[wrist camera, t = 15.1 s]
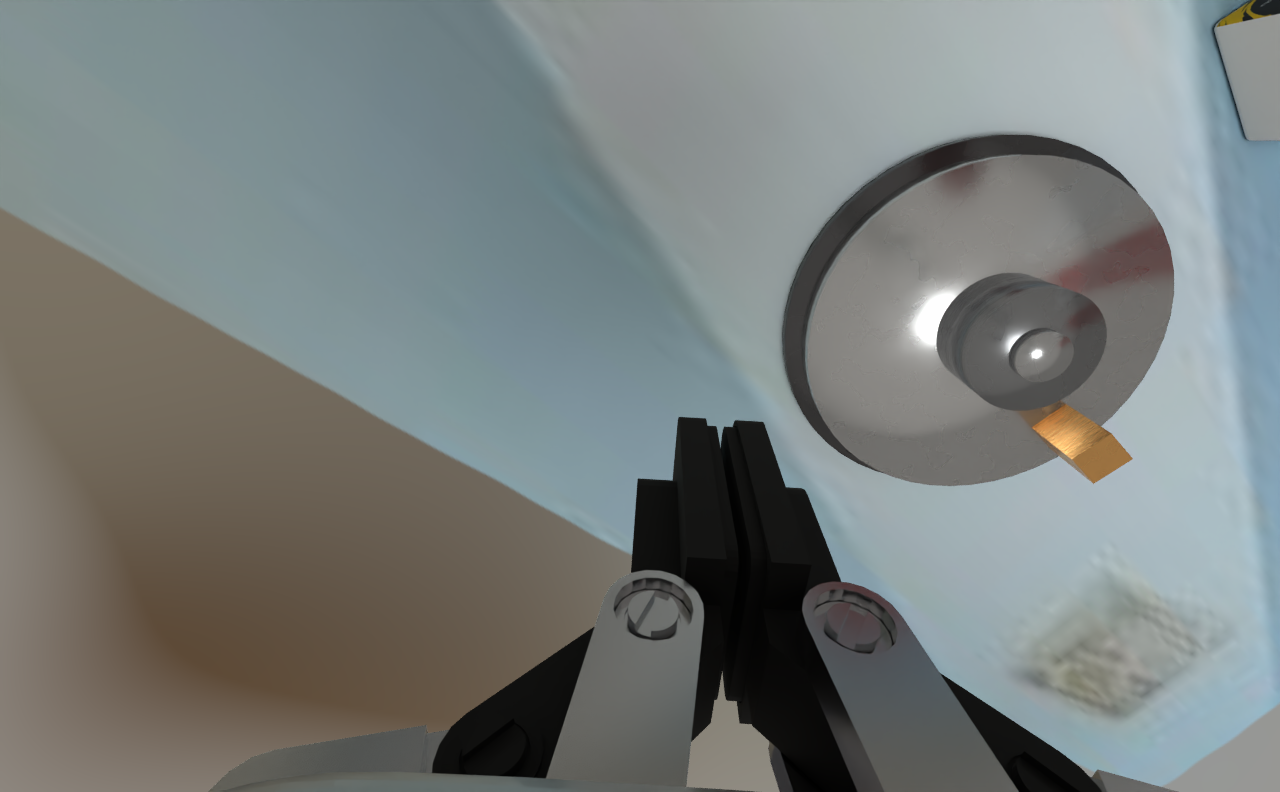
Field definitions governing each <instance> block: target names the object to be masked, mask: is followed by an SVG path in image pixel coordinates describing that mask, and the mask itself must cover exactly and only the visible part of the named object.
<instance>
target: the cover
mask: <svg viewBox="0 0 1280 792" xmlns="http://www.w3.org/2000/svg"><path fill="white" fill-rule="evenodd" d="M1106 339H1107V328H1106V323H1105V320H1104V317H1103V314H1102V313H1101V311H1100V309H1099V308H1098V307H1097V306H1096V304H1095V303H1094V302H1093V301H1091V300H1090V299H1089V298H1087V297H1086V296H1084V295H1082V294H1080V293H1077V292H1075V291H1072V290H1069V289H1066V288H1064V287H1061V286H1058V285H1055V284H1052V283H1050V282H1047V281H1044V280H1041V279H1039V278H1036V277H1033V276H1030V275H1027V274H1022V273H1012V272H1011V273H1001V274H996V275H992V276H989V277H986V278H984V279H981V280H979V281H977V282H975V283H974V284H972V285H970V286H969V287H967V288H966V289H965V290H963V291H962V292H961V293H960V294H959V295H958V296H957V297H956V298H955V299H954V300H953V301H952V302H951V303H950V305H949V306H948V308H947V309H946V311H945V312H944V314H943V316H942V318H941V320H940V323H939V326H938V330H937V336H936V346H937V352H938V355H939V358H940V360H941V362H942V363H943V365H944V366H945V367H946V369H947V370H948V371H949V372H951V373H952V374H953V375H954V376H955V377H957V378H958V379H959V380H960V381H962V382H963V383H964V384H965V385H966V386H968V387H969V388H970V389H971V390H973V391H974V392H975V393H976V394H977V395H979V396H980V397H981V398H982V399H984V400H985V401H987V402H988V403H990V404H992V405H994V406H996V407H999V408H1002V409H1006V410H1013V411H1026V410H1033V409H1038V408H1042V407H1046V406H1048V405H1051V404H1053V403H1056V402H1058V401H1060V400H1062V399H1063V398H1065V397H1067V396H1068V395H1070V394H1071V393H1073V392H1074V391H1075V390H1077V389H1078V388H1079V387H1080V386H1081V385H1082V384H1083V383H1084V382H1085V381H1086V380H1087V379H1088V378H1089V377H1090V376H1091V374H1092V373H1093V372H1094V370H1095V369H1096V367H1097V365H1098V364H1099V362H1100V360H1101V358H1102V355H1103V353H1104V349H1105V346H1106Z"/></svg>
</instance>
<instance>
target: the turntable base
mask: <svg viewBox="0 0 1280 792" xmlns="http://www.w3.org/2000/svg"><path fill="white" fill-rule="evenodd" d="M1002 154H1014V155H1051V156H1057V157H1063V158H1068V159H1074V160H1078V161H1081V162H1084V163H1087V164H1090V165H1093V166H1096V167H1099V168H1101V169H1103V170H1104V171H1106V172H1108V173H1110V174H1112V175H1114V176H1115V177H1117V178H1119V179H1121V180H1122V181H1123V182H1124V183H1126V184H1127V185H1128V186H1129V187H1131V188H1132V189H1133V190H1134V191H1136V189H1135V188H1134V187H1133V186H1132V185H1131V184H1130V183H1129V182H1128V181H1127V179H1126V178H1125V177H1124V176H1123V175H1122V174H1121V173H1120V172H1119V171H1117V170H1116V169H1115V168H1114V167H1112V166H1111V165H1110V164H1108V163H1107V162H1106V161H1104V160H1103V159H1102V158H1100V157H1098V156H1096V155H1094V154H1092V153H1090V152H1088V151H1086V150H1085V149H1083V148H1081V147H1078V146H1075V145H1072V144H1069V143H1066V142H1062V141H1059V140H1056V139H1051V138H1044V137H1037V136H1031V135H991V136H984V137H976V138H968V139H963V140H959V141H956V142H952V143H948V144H944V145H940V146H937V147H935V148H932V149H930V150H927V151H925V152H922V153H920V154H917V155H915V156H912V157H910V158H909V159H907V160H905V161H903V162H901V163H899V164H898V165H896V166H894V167H892V168H890V169H888V170H887V171H885V172H884V173H882V174H881V175H880V176H878V177H877V178H875V179H874V180H872V181H871V182H870V183H868V184H867V185H865V186H864V187H863V188H862V189H861V190H860V191H858V192H857V193H856V194H855V195H854V196H853V197H852V198H851V199H849V200H848V201H847V202H846V203H845V204H844V205H843V206H842V207H841V208H840V209H839V210H838V212H837V213H836V214H835V215H834V216H833V217H832V218H831V219H830V220H829V222H828V223H827V224H826V225H825V227H824V228H823V229H822V231H821V232H820V234H819V235H818V236H817V238H816V239H815V241H814V242H813V243H812V245H811V247H810V248H809V250H808V252H807V254H806V256H805V258H804V259H803V261H802V263H801V265H800V267H799V269H798V272H797V274H796V277H795V279H794V282H793V284H792V287H791V290H790V294H789V297H788V301H787V305H786V309H785V315H784V324H783V332H782V334H783V357H784V363H785V369H786V374H787V377H788V380H789V383H790V386H791V389H792V392H793V394H794V396H795V398H796V400H797V402H798V404H799V406H800V408H801V410H802V412H803V414H804V415H805V417H806V418H807V420H808V421H809V423H810V424H811V425H812V427H813V428H814V430H815V431H816V432H817V433H818V434H819V435H820V436H821V437H822V438H823V439H824V440H825V441H826V442H827V443H828V444H829V445H831V446H832V447H833V448H835V449H836V450H837V451H838V452H840V453H841V454H842V455H844V456H846V457H848V458H849V459H851V460H853V461H855V462H856V463H858V464H860V465H863V466H865V467H868V468H870V469H873V470H875V471H878V470H876V469H874V468H872V467H871V466H869V465H867V464H866V463H864V462H863V461H861V460H859V459H858V458H857V457H856V456H854V455H853V454H852V453H851V452H849V451H848V450H847V449H846V448H845V447H844V446H843V445H842V444H841V443H840V442H839V441H838V439H837V438H836V437H835V436H834V435H833V434H832V432H831V431H830V429H829V428H828V426H827V425H826V423H825V422H824V420H823V418H822V416H821V415H820V413H819V411H818V409H817V407H816V405H815V403H814V401H813V399H812V397H811V394H810V392H809V390H808V386H807V383H806V379H805V376H804V371H803V363H802V355H801V347H802V330H803V323H804V317H805V312H806V309H807V306H808V302H809V299H810V295H811V293H812V290H813V288H814V286H815V283H816V281H817V279H818V277H819V274H820V272H821V271H822V269H823V267H824V266H825V264H826V262H827V260H828V259H829V257H830V255H831V254H832V252H833V251H834V250H835V248H836V247H837V246H838V244H839V243H840V242H841V240H842V239H843V238H844V236H845V235H846V234H847V233H848V232H849V231H850V230H851V229H852V227H853V226H854V225H855V224H856V223H857V222H858V221H859V220H860V219H861V218H862V217H863V216H864V215H865V214H866V213H867V212H869V211H870V210H871V209H872V208H873V207H875V206H876V205H877V204H878V203H879V202H881V201H882V200H883V199H884V198H886V197H887V196H889V195H890V194H892V193H893V192H895V191H896V190H898V189H899V188H901V187H902V186H904V185H905V184H907V183H909V182H911V181H913V180H915V179H917V178H919V177H921V176H923V175H925V174H927V173H929V172H931V171H934V170H937V169H939V168H942V167H945V166H947V165H950V164H953V163H956V162H960V161H965V160H969V159H973V158H977V157H984V156H993V155H1002ZM1136 192H1137V191H1136ZM1137 193H1138V192H1137ZM878 472H881V471H878ZM882 473H883V472H882Z"/></svg>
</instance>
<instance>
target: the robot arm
mask: <svg viewBox="0 0 1280 792" xmlns="http://www.w3.org/2000/svg"><path fill="white" fill-rule="evenodd" d="M722 672H723V681H724V690H725V697H726V700H728V701H737V706H738V714H739V721H740V723H743V724H752V726H753V727H754V728H756V729H757V730H758V731H759V732H760V733H761V734H762V735H763V736H764V737H765V738H766V739H768V740H769V747H768V749H769V756H770V762H771V765H772V768H773V772H774V775H775V778H776V781H777V784H778V788H779V791H780V792H1177V791H1173V790H1169V789H1166V788H1162V787H1159V786H1155V785H1152V784H1148V783H1144V782H1141V781H1137V780H1133V779H1130V778H1126V777H1123V776H1119V775H1115V774H1112V773H1108V772H1104V771H1101V770H1097V771H1096V772H1095V774H1094V775H1093V776H1092V777H1089V776H1088V775H1087V774H1086V773H1085V772H1084V771H1083V770H1082V769H1081V768H1080V767H1079V766H1078V765H1076V764H1075V763H1074V762H1072V761H1071V760H1070V759H1069V758H1067V757H1066V756H1065V755H1063V754H1062V753H1061V752H1059V751H1058V750H1056V749H1055V748H1053V747H1052V746H1050V745H1049V744H1047V743H1046V742H1044V741H1043V740H1041V739H1040V738H1038V737H1037V736H1035V735H1033V734H1032V733H1030V732H1029V731H1027V730H1026V729H1024V728H1023V727H1021V726H1020V725H1018V724H1017V723H1015V722H1014V721H1012V720H1011V719H1009V718H1008V717H1006V716H1005V715H1003V714H1002V713H1000V712H999V711H997V710H995V709H994V708H992V707H991V706H989V705H988V704H986V703H985V702H983V701H982V700H980V699H979V698H977V697H976V696H974V695H973V694H971V693H970V692H968V691H967V690H965V689H964V688H962V687H960V686H959V685H957V684H956V683H954V682H953V681H951V680H950V679H948V678H947V677H945V676H944V675H942V674H941V673H939V671H938V670H937V668H936V667H935V665H934V664H933V662H932V661H931V659H930V658H929V656H928V655H927V653H926V652H925V650H924V649H923V647H922V646H921V644H920V643H919V641H918V640H917V638H916V637H915V635H914V634H913V632H912V631H911V629H910V628H909V626H908V625H907V623H906V622H905V620H904V619H903V617H902V616H901V615H900V614H899V612H898V611H897V610H896V609H895V608H894V607H893V605H892V604H890V603H889V602H888V601H886V600H885V599H884V598H882V597H881V596H880V595H878V594H876V593H874V592H872V591H870V590H868V589H866V588H864V587H862V586H858V585H855V584H851V583H847V582H841V580H840V577H839V575H838V572H837V569H836V567H835V564H834V562H833V559H832V557H831V554H830V551H829V549H828V546H827V544H826V541H825V539H824V536H823V533H822V531H821V528H820V526H819V523H818V521H817V518H816V516H815V513H814V510H813V508H812V505H811V503H810V500H809V498H808V495H807V493H806V491H805V490H804V489H802V488H787V487H785V484H784V481H783V478H782V475H781V472H780V469H779V466H778V463H777V460H776V457H775V454H774V451H773V448H772V445H771V442H770V439H769V436H768V434H767V431H766V428H765V425H764V423H763V422H755V421H738V420H735V422H734V424H733V427H724V429H723V434H722V441H721V449H720V443H719V438H718V432H717V427H716V426H707V421H706V419H704V418H687V417H679V418H678V426H677V437H676V448H675V460H674V471H673V481H670V480H653V479H638V483H637V497H636V511H635V525H634V539H633V553H632V568H631V573H630V574H629V575H626V576H624V577H622V578H620V579H619V580H617V581H616V582H615V583H614V584H613V585H612V586H611V587H610V588H609V590H608V592H607V594H606V595H605V597H604V600H603V603H602V606H601V609H600V612H599V615H598V618H597V622H596V625H595V627H593V628H592V629H590V630H589V631H587V632H586V633H584V634H583V635H581V636H580V637H578V638H577V639H575V640H574V641H572V642H571V643H570V644H568V645H567V646H565V647H564V648H562V649H561V650H559V651H558V652H557V653H555V654H553V655H552V656H551V657H549V658H548V659H546V660H545V661H543V662H542V663H540V664H539V665H537V666H536V667H534V668H533V669H531V670H530V671H528V672H527V673H525V674H524V675H522V676H521V677H520V678H518V679H517V680H515V681H514V682H512V683H511V684H509V685H508V686H506V687H505V688H503V689H502V690H500V691H499V692H497V693H496V694H495V695H493V696H492V697H490V698H489V699H487V700H486V701H484V702H483V703H481V704H480V705H478V706H477V707H476V708H474V709H472V710H471V711H470V712H468V713H467V714H466V715H464V716H463V717H462V718H461V719H460V720H459V721H457V722H456V723H455V724H454V725H453V726H452V727H451V728H450V730H445V731H439V732H434V733H428V732H427V727H426V725H425V726H419V727H413V728H407V729H400V730H394V731H388V732H382V733H376V734H369V735H363V736H357V737H352V738H345V739H339V740H333V741H326V742H320V743H314V744H309V745H302V746H296V747H290V748H283V749H277V750H273V751H270V752H267V753H264V754H261V755H258V756H254V757H252V758H250V759H248V760H247V761H245V762H244V763H242V764H240V765H239V766H237V767H235V768H234V769H232V770H231V771H229V772H228V773H227V774H226V775H225V776H224V777H223V778H222V779H221V780H220V781H219V782H218V783H217V784H216V785H215V786H214V787H213V788H212V789H210V790H209V792H753V791H738V790H737V791H736V790H722V789H708V788H691V787H686V784H687V774H688V765H689V756H690V746H691V742H692V740H694V739H695V738H696V737H697V736H698V735H699V734H700V733H701V732H702V731H703V730H704V729H705V728H706V727H707V726H708V725H709V724H710V723H711V718H712V711H713V705H714V700H716V699H717V697H718V692H719V686H720V680H721V674H722Z"/></svg>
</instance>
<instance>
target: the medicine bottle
mask: <svg viewBox="0 0 1280 792" xmlns="http://www.w3.org/2000/svg"><path fill="white" fill-rule="evenodd" d="M1214 32H1215V35H1216V39H1217V42H1218V45H1219V49H1220V52H1221V55H1222V59H1223V62H1224V66H1225V69H1226V72H1227V76H1228V79H1229V82H1230V86H1231V89H1232V93H1233V96H1234V99H1235V103H1236V106H1237V109H1238V113H1239V116H1240V120H1241V123H1242V126H1243V130H1244V133H1245V136H1246V138H1247V139H1248V140H1251V141H1280V0H1251V1H1249V2H1248V3H1246V4H1245V5H1243V6H1242V7H1240V8H1239V9H1237V10H1236V11H1234V12H1233V13H1231V14H1230V15H1228V16H1227V17H1225V18H1223V19H1222V20H1220V21H1219V22H1218V23H1217V24H1216V26H1215V28H1214Z"/></svg>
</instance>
